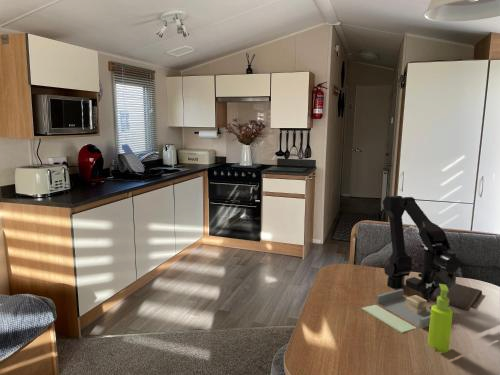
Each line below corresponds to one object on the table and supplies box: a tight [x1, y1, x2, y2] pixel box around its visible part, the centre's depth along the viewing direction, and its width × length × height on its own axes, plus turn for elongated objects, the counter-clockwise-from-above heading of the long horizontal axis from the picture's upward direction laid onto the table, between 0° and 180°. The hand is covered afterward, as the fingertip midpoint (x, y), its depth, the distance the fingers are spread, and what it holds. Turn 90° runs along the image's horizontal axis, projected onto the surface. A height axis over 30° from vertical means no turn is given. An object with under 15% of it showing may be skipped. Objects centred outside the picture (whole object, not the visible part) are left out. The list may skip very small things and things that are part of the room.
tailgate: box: [361, 304, 417, 334], centre depth 132 cm, size 1×18×7 cm
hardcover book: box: [430, 283, 483, 312], centre depth 151 cm, size 16×23×2 cm
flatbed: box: [376, 288, 431, 329], centre depth 137 cm, size 13×20×4 cm, turn 27°
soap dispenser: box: [427, 284, 454, 354], centre depth 115 cm, size 6×7×20 cm
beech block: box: [405, 294, 428, 314], centre depth 138 cm, size 5×5×4 cm
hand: (426, 302), depth 141 cm, fingers closed
